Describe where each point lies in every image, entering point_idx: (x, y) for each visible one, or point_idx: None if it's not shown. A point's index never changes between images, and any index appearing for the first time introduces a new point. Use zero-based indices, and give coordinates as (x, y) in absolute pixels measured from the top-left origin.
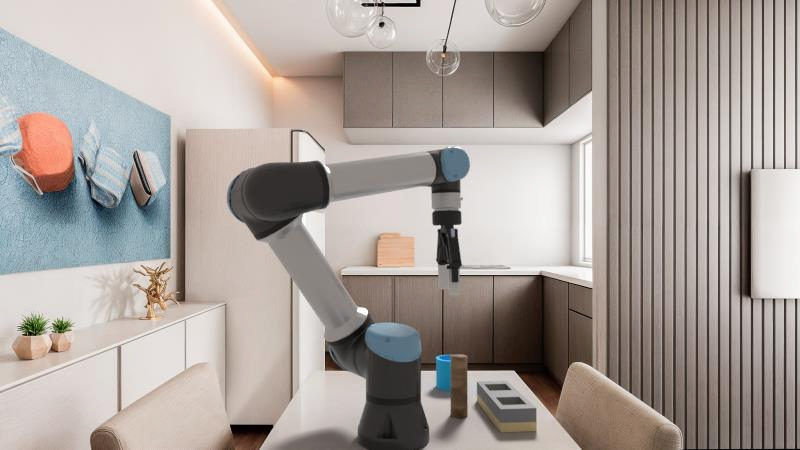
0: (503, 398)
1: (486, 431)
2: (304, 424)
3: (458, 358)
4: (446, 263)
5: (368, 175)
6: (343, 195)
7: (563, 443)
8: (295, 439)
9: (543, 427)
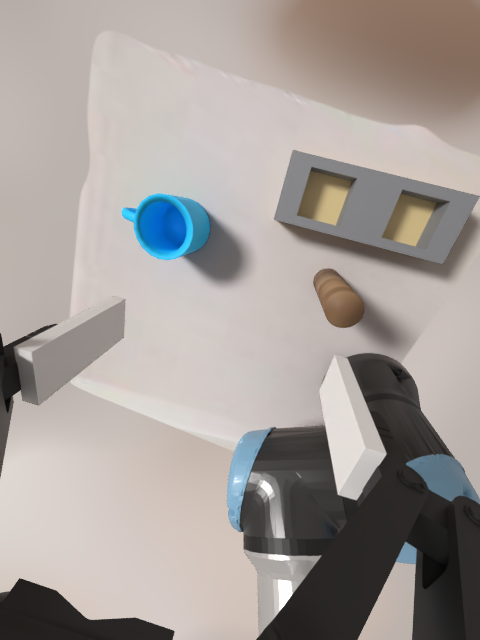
0: (387, 222)
1: (407, 276)
2: None
3: (360, 319)
4: (5, 360)
5: None
6: None
7: None
8: None
9: (447, 175)
